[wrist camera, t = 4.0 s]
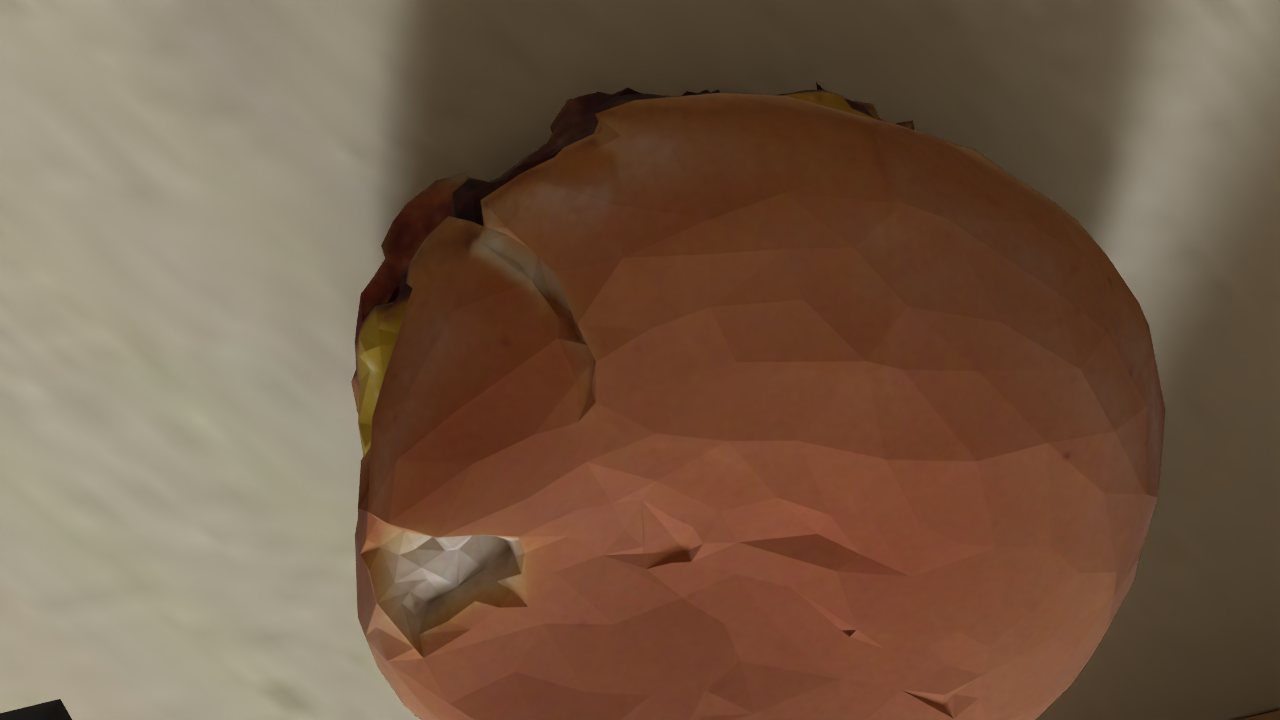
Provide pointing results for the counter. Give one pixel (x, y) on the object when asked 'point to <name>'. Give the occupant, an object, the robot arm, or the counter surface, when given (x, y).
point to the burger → (746, 426)
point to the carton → (1265, 716)
